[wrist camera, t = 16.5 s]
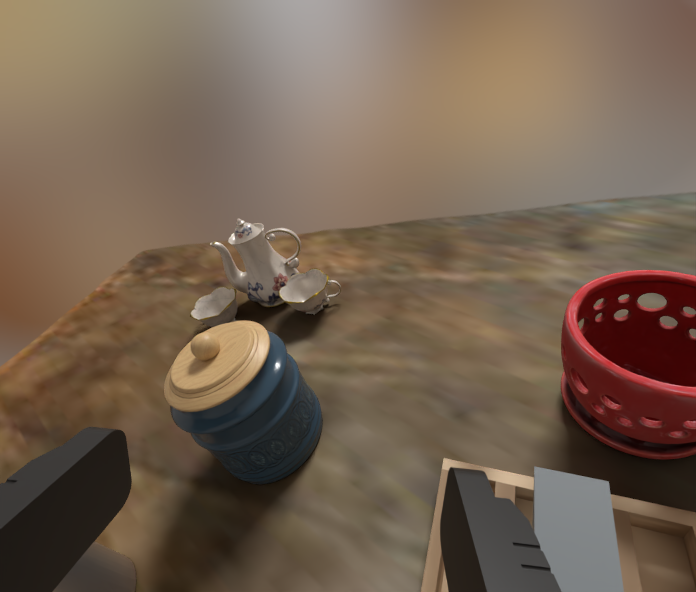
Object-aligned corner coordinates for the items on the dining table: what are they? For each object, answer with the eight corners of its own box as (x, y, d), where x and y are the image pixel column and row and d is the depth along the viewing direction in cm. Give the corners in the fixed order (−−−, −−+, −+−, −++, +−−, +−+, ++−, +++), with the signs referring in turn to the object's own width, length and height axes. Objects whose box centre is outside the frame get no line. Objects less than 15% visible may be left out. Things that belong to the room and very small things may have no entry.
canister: (317, 375, 49) (260, 276, 39) (334, 462, 39) (263, 360, 28) (230, 409, 49) (150, 320, 39) (224, 505, 39) (112, 419, 28)
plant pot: (580, 477, 31) (596, 399, 24) (542, 359, 41) (545, 278, 34) (776, 482, 27) (867, 390, 20) (682, 349, 37) (720, 255, 30)
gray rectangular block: (531, 639, 24) (534, 593, 17) (531, 540, 28) (534, 466, 20) (593, 663, 23) (628, 625, 15) (584, 555, 27) (608, 481, 19)
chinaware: (200, 354, 64) (135, 291, 53) (221, 290, 76) (172, 227, 64) (348, 321, 58) (311, 243, 47) (346, 257, 70) (316, 183, 59)
